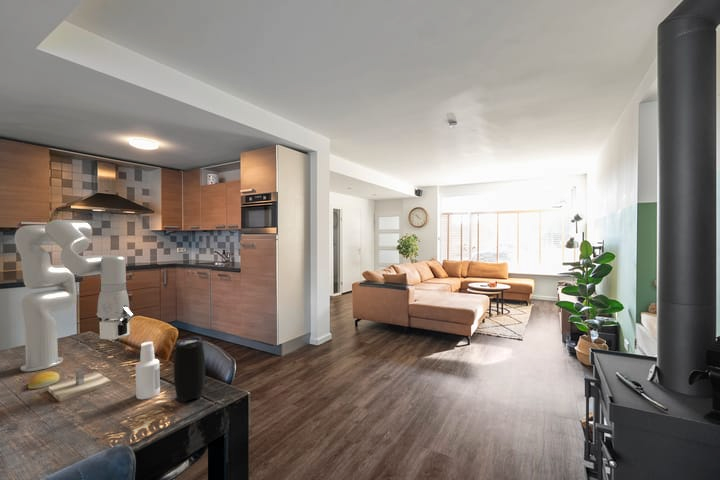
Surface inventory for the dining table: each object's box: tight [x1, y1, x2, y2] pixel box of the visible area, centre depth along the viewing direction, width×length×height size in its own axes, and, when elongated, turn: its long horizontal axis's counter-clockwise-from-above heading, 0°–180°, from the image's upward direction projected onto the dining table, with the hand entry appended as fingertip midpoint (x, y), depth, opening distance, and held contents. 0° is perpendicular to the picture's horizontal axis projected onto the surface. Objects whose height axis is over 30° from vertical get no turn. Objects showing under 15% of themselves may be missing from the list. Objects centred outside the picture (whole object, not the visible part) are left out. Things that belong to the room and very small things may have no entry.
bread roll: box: [27, 370, 60, 390], centre depth 116 cm, size 8×9×4 cm
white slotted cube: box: [98, 318, 131, 341], centre depth 119 cm, size 6×6×6 cm
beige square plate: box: [47, 369, 112, 403], centre depth 112 cm, size 14×14×6 cm
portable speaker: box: [173, 335, 206, 404], centre depth 105 cm, size 9×9×20 cm
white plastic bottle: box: [134, 341, 161, 400], centre depth 107 cm, size 7×7×18 cm
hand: (114, 333), depth 119 cm, fingers closed on white slotted cube, 6 cm apart
